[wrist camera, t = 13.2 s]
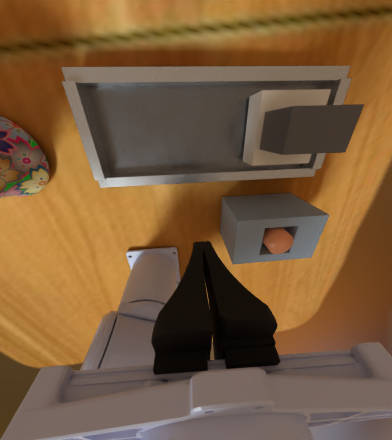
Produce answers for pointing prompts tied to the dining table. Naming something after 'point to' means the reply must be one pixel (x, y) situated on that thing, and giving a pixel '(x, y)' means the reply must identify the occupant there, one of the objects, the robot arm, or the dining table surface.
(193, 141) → the grey metal tray
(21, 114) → the dining table surface
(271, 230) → the button
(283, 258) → the end cabinet
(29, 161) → the floral patterned vase
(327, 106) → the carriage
